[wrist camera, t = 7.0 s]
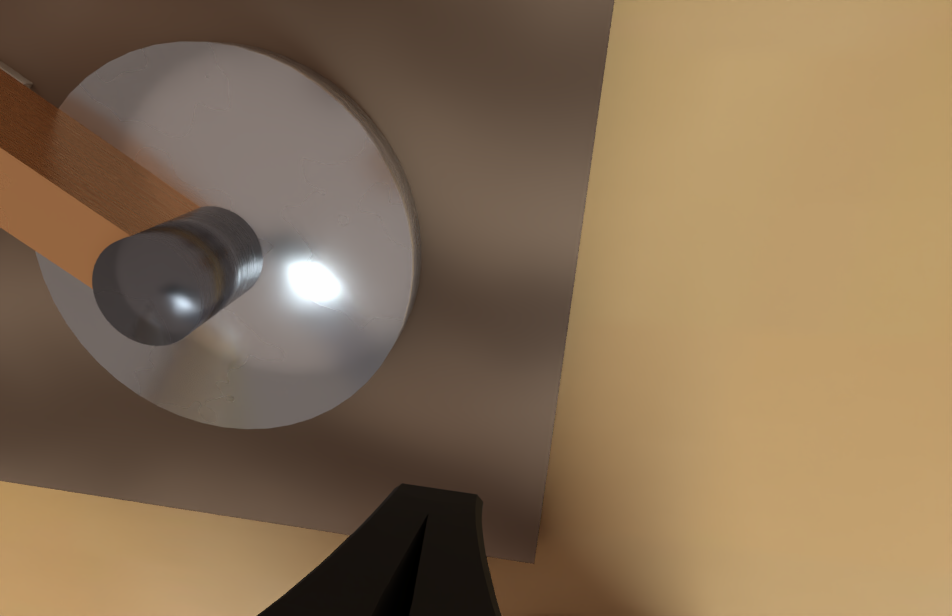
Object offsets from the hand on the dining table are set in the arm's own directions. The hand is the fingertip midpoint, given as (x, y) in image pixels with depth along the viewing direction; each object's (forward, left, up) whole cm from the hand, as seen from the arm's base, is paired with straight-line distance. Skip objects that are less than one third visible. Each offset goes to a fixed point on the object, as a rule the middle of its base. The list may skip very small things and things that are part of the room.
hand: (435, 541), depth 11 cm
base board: (+2, +7, -9) cm, 12 cm away
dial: (+2, +7, -8) cm, 11 cm away
